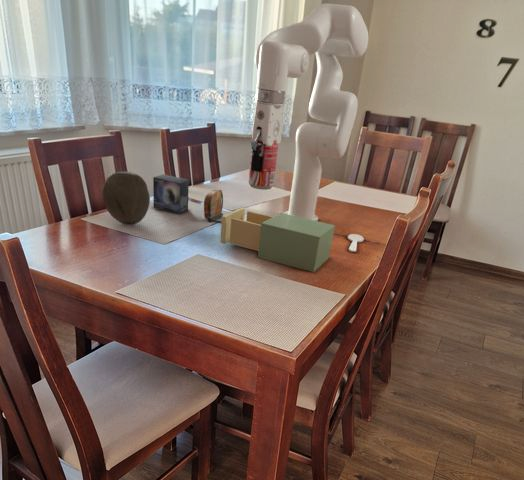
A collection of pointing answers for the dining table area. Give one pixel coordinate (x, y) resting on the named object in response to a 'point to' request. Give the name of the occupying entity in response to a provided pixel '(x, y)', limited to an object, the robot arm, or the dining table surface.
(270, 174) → the soda can
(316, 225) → the cabinet
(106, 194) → the cantaloupe
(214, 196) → the tin
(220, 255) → the dining table surface
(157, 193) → the small box
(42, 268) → the dining table surface
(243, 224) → the drawer
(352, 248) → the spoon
